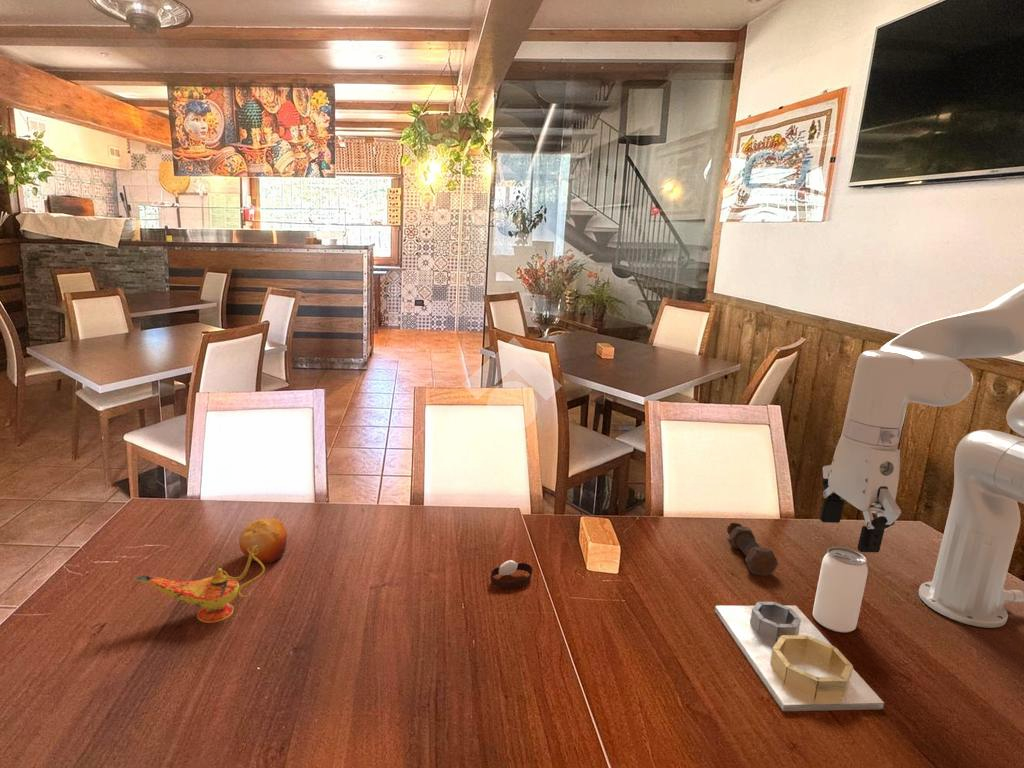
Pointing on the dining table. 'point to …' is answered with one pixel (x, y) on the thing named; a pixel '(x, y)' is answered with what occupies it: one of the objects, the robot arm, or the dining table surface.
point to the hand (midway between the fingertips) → (847, 535)
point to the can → (840, 589)
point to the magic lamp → (206, 591)
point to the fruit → (264, 539)
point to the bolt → (752, 550)
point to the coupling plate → (796, 659)
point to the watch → (508, 569)
